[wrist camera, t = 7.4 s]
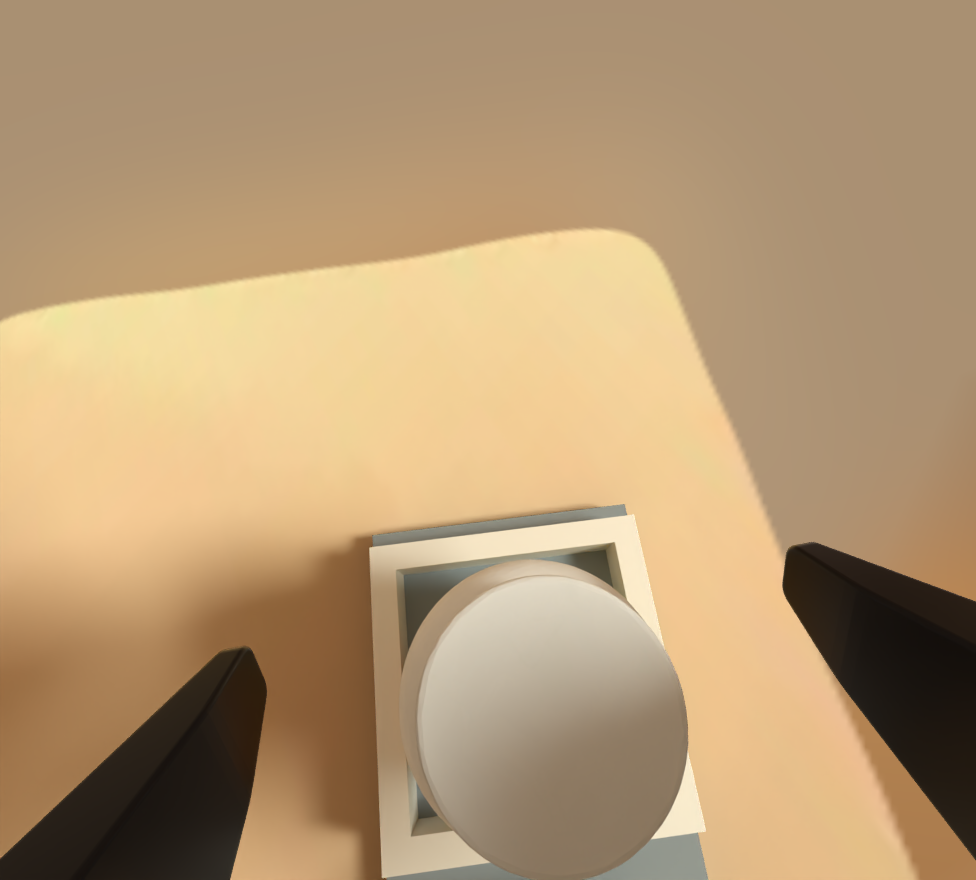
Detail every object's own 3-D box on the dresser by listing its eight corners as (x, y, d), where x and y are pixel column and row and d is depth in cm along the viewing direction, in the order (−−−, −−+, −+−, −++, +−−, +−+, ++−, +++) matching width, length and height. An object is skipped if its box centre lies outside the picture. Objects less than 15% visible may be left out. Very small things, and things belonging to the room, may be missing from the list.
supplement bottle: (494, 558, 18) (493, 468, 9) (634, 650, 17) (798, 652, 8) (401, 706, 16) (284, 778, 7) (550, 818, 15) (634, 1072, 6)
